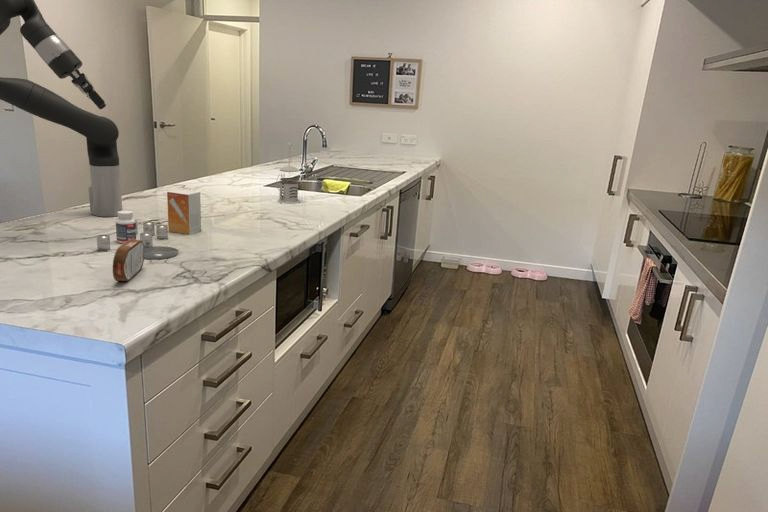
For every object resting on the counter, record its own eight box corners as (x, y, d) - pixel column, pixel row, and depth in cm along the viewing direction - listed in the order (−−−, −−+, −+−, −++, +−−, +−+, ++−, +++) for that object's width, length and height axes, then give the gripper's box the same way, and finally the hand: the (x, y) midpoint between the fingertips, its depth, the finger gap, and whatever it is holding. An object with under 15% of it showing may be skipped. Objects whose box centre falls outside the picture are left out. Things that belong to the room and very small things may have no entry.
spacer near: (95, 251, 153) (94, 237, 152) (102, 248, 156) (101, 234, 155) (106, 252, 153) (105, 238, 152) (112, 249, 156) (111, 235, 155)
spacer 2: (138, 248, 158) (137, 234, 157) (144, 245, 161) (143, 232, 160) (149, 249, 158) (148, 235, 157) (154, 246, 161) (154, 233, 160)
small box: (168, 231, 178) (166, 191, 174) (180, 227, 183) (179, 188, 180) (189, 235, 175) (188, 194, 172) (201, 230, 181) (200, 191, 178)
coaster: (127, 257, 149) (127, 255, 149) (148, 246, 160) (148, 244, 160) (166, 261, 148) (166, 259, 148) (185, 250, 159) (185, 248, 159)
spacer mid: (141, 236, 171) (140, 223, 169) (146, 233, 174) (146, 221, 173) (151, 236, 170) (150, 224, 169) (156, 234, 173) (156, 222, 172)
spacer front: (154, 239, 168) (154, 226, 167) (159, 236, 171) (159, 224, 170) (164, 240, 168) (164, 227, 167) (169, 237, 171) (169, 225, 170)
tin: (134, 266, 143) (132, 234, 140) (147, 267, 143) (145, 235, 141) (112, 286, 128) (109, 251, 126) (126, 286, 129) (124, 251, 126)
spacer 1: (124, 234, 171) (123, 221, 170) (130, 232, 174) (129, 219, 173) (134, 235, 171) (133, 222, 169) (139, 233, 174) (139, 220, 173)
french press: (305, 202, 239) (306, 143, 232) (286, 205, 229) (287, 144, 222) (287, 198, 244) (288, 140, 237) (269, 201, 234) (269, 141, 227)
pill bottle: (129, 244, 161) (127, 214, 158) (113, 242, 162) (110, 212, 159) (140, 240, 166) (138, 211, 163) (124, 238, 167) (122, 209, 164)
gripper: (50, 68, 158) (93, 116, 164) (43, 59, 145) (90, 111, 151) (72, 53, 159) (114, 101, 166) (67, 43, 147) (113, 95, 153)
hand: (102, 106), depth 158 cm, fingers open, 8 cm apart
